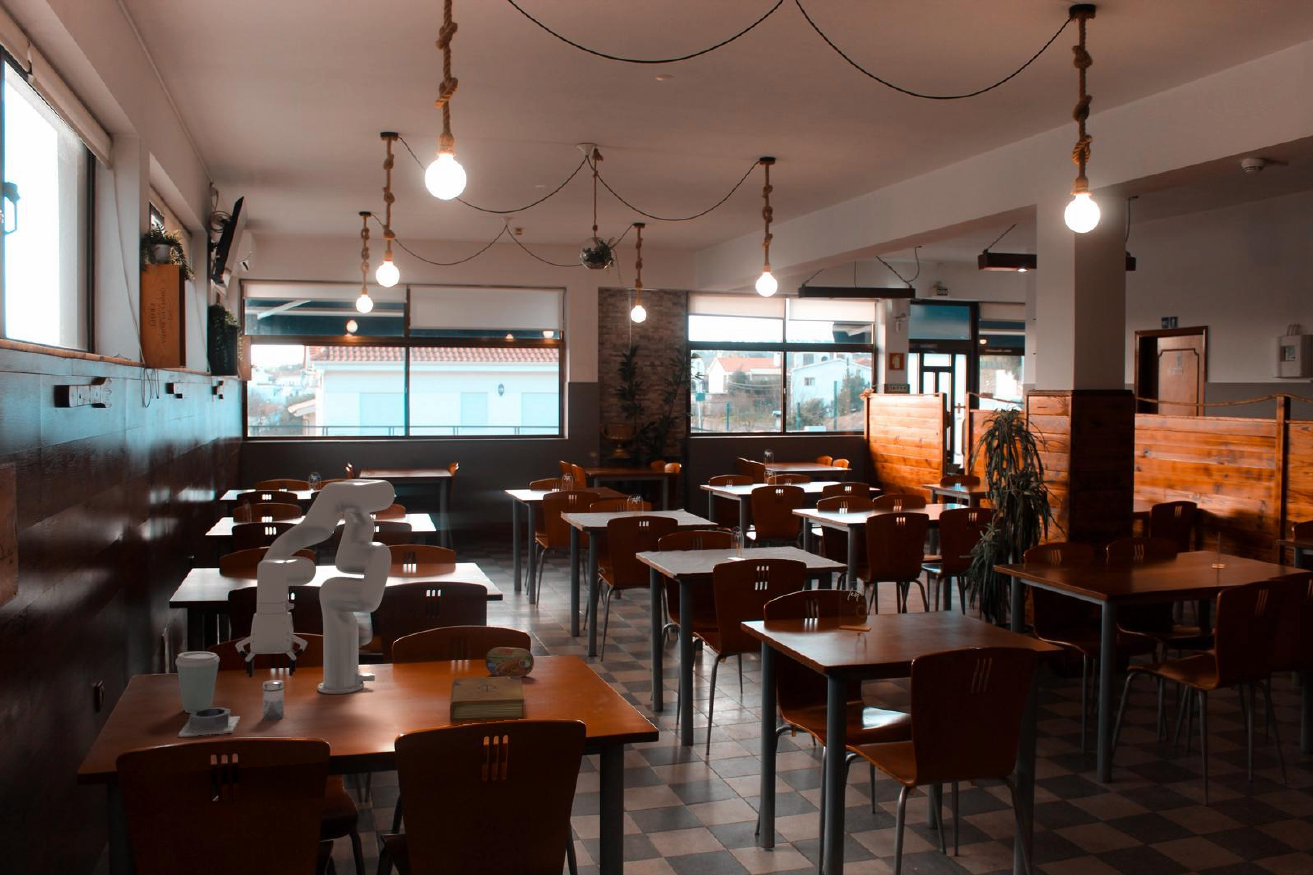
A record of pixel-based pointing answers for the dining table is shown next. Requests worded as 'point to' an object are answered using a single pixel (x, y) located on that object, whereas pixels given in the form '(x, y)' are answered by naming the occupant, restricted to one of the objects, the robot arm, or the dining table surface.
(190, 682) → the disposable coffee cup
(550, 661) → the dining table surface
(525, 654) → the tin
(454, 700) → the diary
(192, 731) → the ring jig
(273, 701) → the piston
